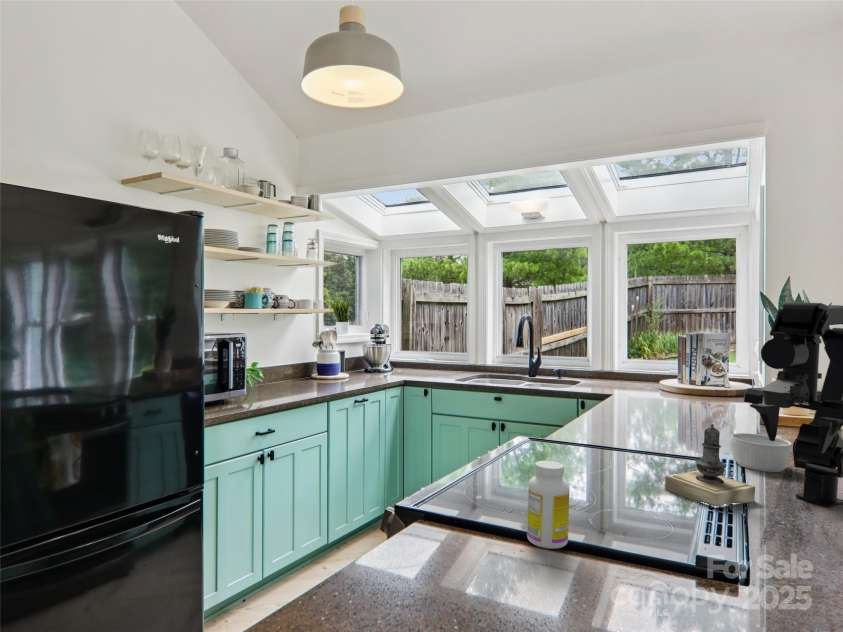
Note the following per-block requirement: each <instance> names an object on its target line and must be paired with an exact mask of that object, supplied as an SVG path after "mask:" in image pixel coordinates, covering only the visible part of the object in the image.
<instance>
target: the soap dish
mask: <svg viewBox="0 0 843 632" xmlns="http://www.w3.org/2000/svg"><path fill="white" fill-rule="evenodd" d="M701 474H702V473H700V472H699V471H698V470H695V471H694V470H693V471H687V472H681V473H676V474H668V475H665V483H664V490H665V491H667V492H670V493H673V494H676V495H679V496H681V497H684V498H686V499H689V500H691V501H694V502H696V501H697V502H696V503H699V502H704V503H707V504H710V505H713V506H721V505H724V504H727V505H729V504H732V503H742V504H748V503H752V502H755V496H756V486H754V485H752V484H748V483H745V482H742V481H739V480H736V479H733V478H729V477H726V476H723V475H720V476H717V477H719V478H721V479H722V480H723V481H724V483H723V484H710V483H705V482H702V481H699V480H697V479H696V476H698V475H701ZM742 504H741V505H742Z"/></svg>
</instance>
